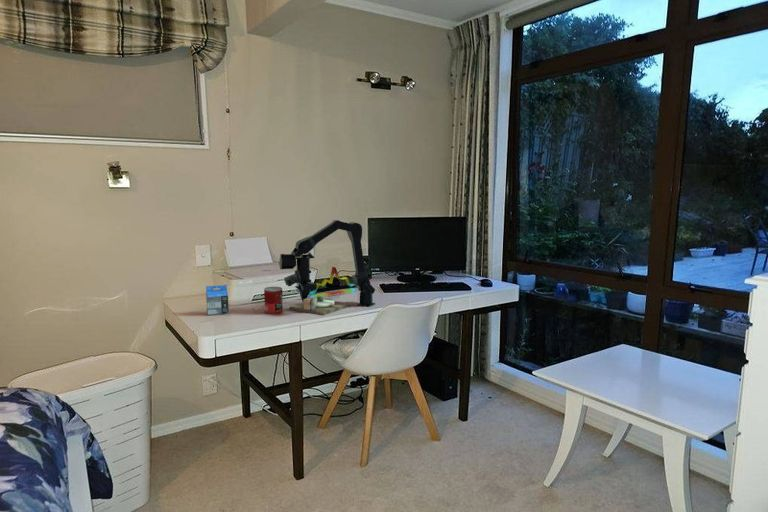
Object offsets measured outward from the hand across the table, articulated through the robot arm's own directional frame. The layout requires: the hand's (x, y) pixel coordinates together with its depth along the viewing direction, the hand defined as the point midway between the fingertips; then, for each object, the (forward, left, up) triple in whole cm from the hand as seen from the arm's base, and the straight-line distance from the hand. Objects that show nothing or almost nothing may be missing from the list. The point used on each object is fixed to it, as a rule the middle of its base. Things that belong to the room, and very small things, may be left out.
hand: (303, 302), depth 218 cm
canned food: (+9, -9, -4) cm, 14 cm away
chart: (-31, -9, -4) cm, 33 cm away
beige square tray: (-9, +3, -4) cm, 10 cm away
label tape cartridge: (+24, -28, -4) cm, 38 cm away
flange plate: (-6, +3, -2) cm, 7 cm away
